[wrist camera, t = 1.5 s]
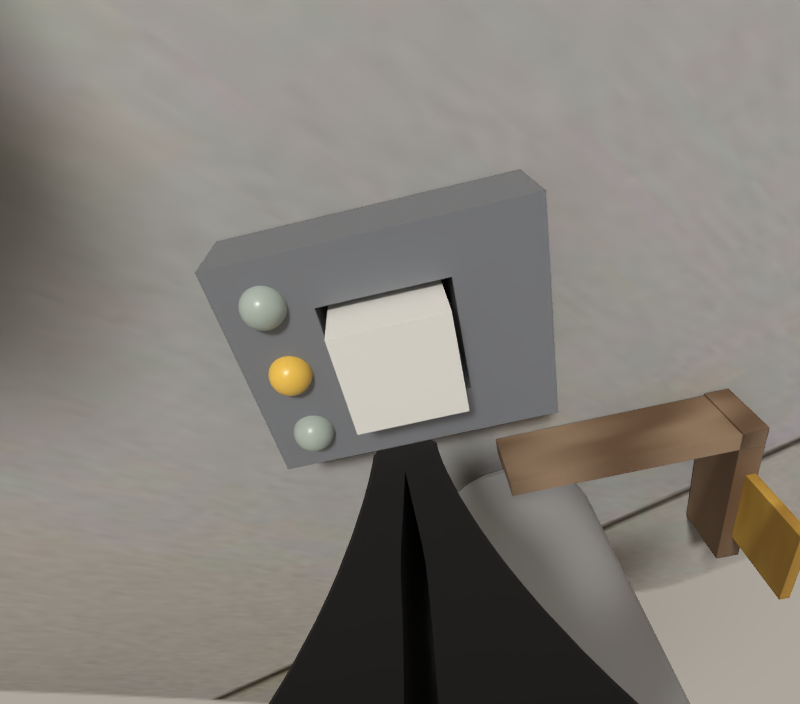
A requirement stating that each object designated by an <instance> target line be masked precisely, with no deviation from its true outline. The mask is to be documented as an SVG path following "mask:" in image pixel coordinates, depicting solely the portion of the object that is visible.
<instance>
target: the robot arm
mask: <svg viewBox="0 0 800 704" xmlns="http://www.w3.org/2000/svg"><path fill="white" fill-rule="evenodd" d="M269 704H638V703H637V702H636V701H635V700H634V699H633V698H632V697H631V696H630V695H629V694H628V693H627V692H626V691H624V690H623V689H622V688H621V687H620V686H619V685H618V684H617V683H616V682H615V681H614V680H613V679H612V678H611V677H610V676H609V675H608V674H607V673H606V672H605V671H604V670H603V669H602V668H600V667H599V666H598V665H597V664H596V663H595V662H594V661H593V660H592V659H591V658H590V657H589V656H588V655H587V654H586V653H585V652H584V651H583V650H582V649H581V648H580V647H579V646H578V644H577V643H576V642H575V641H574V640H573V639H572V638H571V637H570V636H569V635H568V634H567V633H566V632H565V631H564V630H563V629H562V627H561V626H560V625H559V624H558V623H557V622H556V621H555V620H554V619H553V618H552V617H551V616H550V615H549V614H548V613H547V612H546V610H545V609H544V608H543V607H542V606H541V605H540V604H539V602H538V601H537V600H536V599H535V598H534V597H533V596H532V594H531V593H530V592H529V591H528V590H527V589H526V587H525V586H524V585H523V584H522V583H521V581H520V580H519V579H518V578H517V576H516V575H515V574H514V573H513V571H512V570H511V569H510V568H509V566H508V565H507V564H506V563H505V561H504V560H503V559H502V557H501V556H500V555H499V553H498V552H497V551H496V549H495V548H494V547H493V545H492V544H491V542H490V541H489V540H488V538H487V537H486V535H485V534H484V533H483V531H482V530H481V528H480V527H479V525H478V524H477V522H476V521H475V519H474V518H473V516H472V515H471V513H470V511H469V510H468V508H467V506H466V505H465V503H464V502H463V500H462V498H461V497H460V495H459V493H458V492H457V490H456V488H455V486H454V484H453V482H452V480H451V478H450V477H449V475H448V473H447V471H446V468H445V466H444V464H443V462H442V459H441V456H440V454H439V451H438V447H437V443H436V442H434V441H432V440H427V441H423V442H418V443H413V444H408V445H404V446H399V447H394V448H390V449H385V450H380V451H377V452H376V454H375V455H374V458H373V464H372V469H371V473H370V478H369V482H368V486H367V489H366V493H365V497H364V500H363V504H362V507H361V510H360V513H359V516H358V519H357V522H356V525H355V528H354V531H353V534H352V537H351V540H350V542H349V545H348V548H347V550H346V553H345V555H344V558H343V560H342V563H341V565H340V568H339V571H338V573H337V575H336V578H335V580H334V582H333V585H332V587H331V589H330V592H329V594H328V596H327V598H326V600H325V602H324V605H323V607H322V609H321V611H320V613H319V615H318V617H317V619H316V621H315V623H314V625H313V627H312V629H311V631H310V633H309V635H308V636H307V638H306V640H305V642H304V644H303V646H302V648H301V650H300V651H299V653H298V655H297V657H296V659H295V661H294V662H293V664H292V666H291V668H290V670H289V671H288V673H287V675H286V676H285V678H284V680H283V682H282V683H281V685H280V686H279V688H278V690H277V691H276V693H275V694H274V696H273V698H272V699H271V701H270V703H269Z"/></svg>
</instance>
